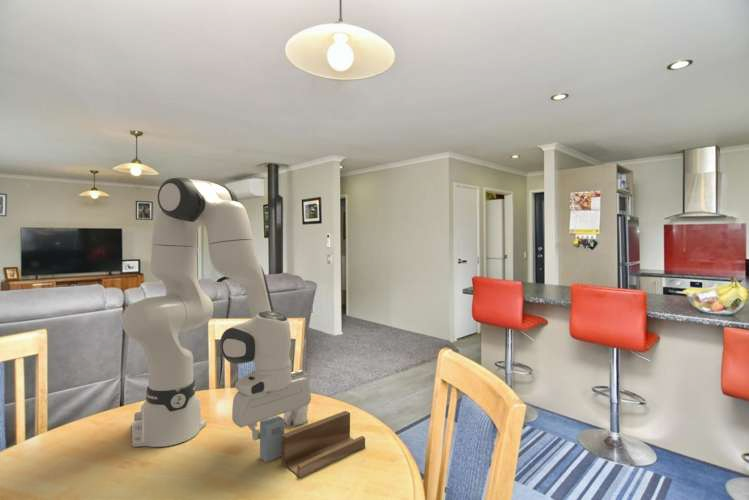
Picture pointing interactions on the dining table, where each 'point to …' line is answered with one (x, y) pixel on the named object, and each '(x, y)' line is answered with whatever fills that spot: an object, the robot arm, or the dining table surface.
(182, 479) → the dining table surface
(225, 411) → the dining table surface
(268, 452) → the cabinet block
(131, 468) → the dining table surface
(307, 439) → the cleat board
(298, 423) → the white cup
